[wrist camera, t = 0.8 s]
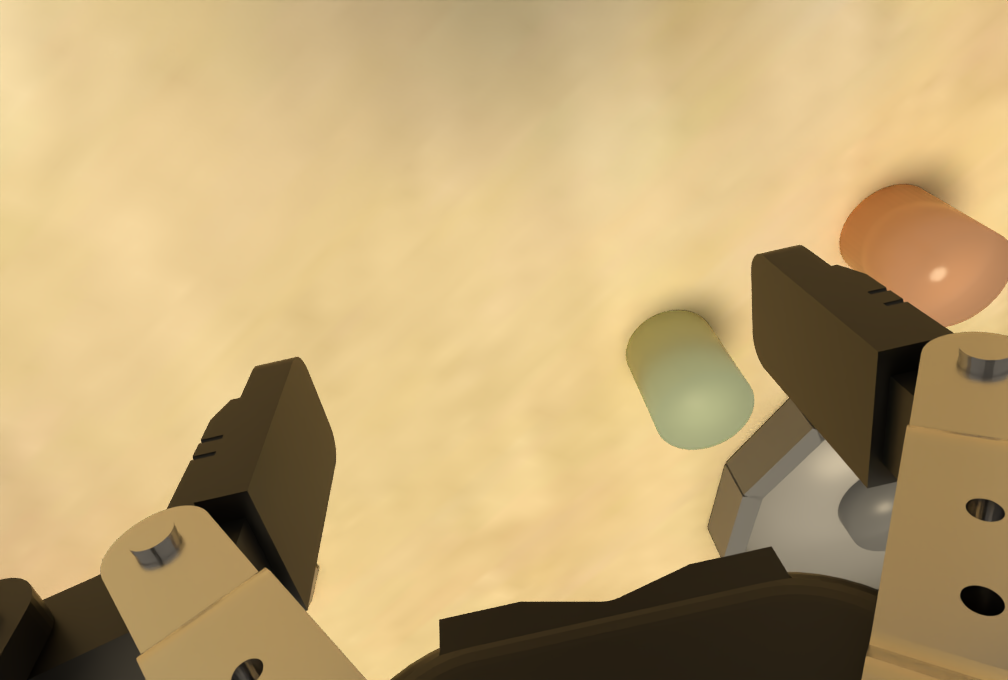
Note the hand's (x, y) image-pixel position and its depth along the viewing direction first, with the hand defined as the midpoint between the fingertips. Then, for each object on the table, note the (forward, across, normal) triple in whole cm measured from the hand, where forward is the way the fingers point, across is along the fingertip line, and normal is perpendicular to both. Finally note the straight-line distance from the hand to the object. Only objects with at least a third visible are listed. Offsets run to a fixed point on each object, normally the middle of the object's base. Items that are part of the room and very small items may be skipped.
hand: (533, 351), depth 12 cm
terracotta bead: (+18, -18, +8) cm, 26 cm away
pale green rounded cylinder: (+18, -7, +12) cm, 23 cm away
